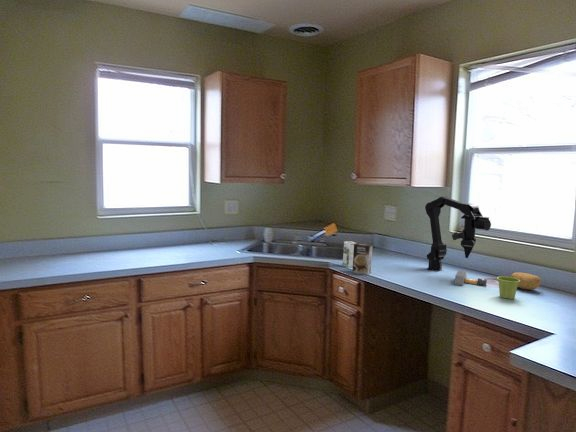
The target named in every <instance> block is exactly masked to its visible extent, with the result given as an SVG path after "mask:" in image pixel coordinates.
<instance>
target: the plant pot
mask: <svg viewBox="0 0 576 432" xmlns="http://www.w3.org/2000/svg"><path fill="white" fill-rule="evenodd" d="M496 279H497V282H498V289H499V297H501V298H503V299H510V300H512V299H513V300H514V299H515V298H516V294H517V289H518V287H517V286H518V284H519V282H520V280H519V279H516V278H512V277H511V276H497V278H496Z"/></svg>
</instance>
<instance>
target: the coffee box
mask: <svg viewBox="0 0 576 432" xmlns="http://www.w3.org/2000/svg"><path fill="white" fill-rule="evenodd" d="M355 243H356V244H354V253H353V267H352V273H353V274H357V275H365V276H368V275H370V274H372V260H373V244H369V243H361V242H355Z"/></svg>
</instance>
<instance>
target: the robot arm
mask: <svg viewBox="0 0 576 432" xmlns="http://www.w3.org/2000/svg"><path fill="white" fill-rule="evenodd" d="M445 206H447V207H450V208H453V209H456V210H458V211H460V212H461V213H462V214H463V215H462V216H461V217H460V219H463V220H464V223H463V229H462V231H459V232H457V231H456V232H453V233H452V234H451V237H452V239H453V240H452V241H456V240H459V239H462V240H460V246H461V247H462V248H463V251H464V258H466V259H468V258H469V256H470V255H471V253H472V251H473V248H474V247H475V244H476V241H477V237H476V231H477V230H481V231H482V230H483V231H489V230H490V229H491V226H492V222H491V220H490V218H489V216H483V214H482V212H481V210H480V208H479V205H477V204H475V203H468V202H467V203H466V202H465V203H464V202H462V201H458V200H455V199H453V198H450V197H448V196H440V197H438V198H436V199H434V200H432V201H430V202H427V203H426V205H425V206H424V207H425V208H424V209H425V212H426V215H427V216H428V218H429V223H430V230H431V240H432V243H431V247H430V252H428V254H426V258H427V259H426V260H428V267H426V269H427V270H430V271H435V272H440V271H441V270H443V262H442V260H444V258H445V256H446V255H447V252H448V249H447V244H444V242H443V241H442V234H441V225H440V216H441V209H442V208H443V207H445Z"/></svg>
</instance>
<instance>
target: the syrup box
mask: <svg viewBox="0 0 576 432" xmlns="http://www.w3.org/2000/svg"><path fill="white" fill-rule="evenodd" d="M356 243H357V242H354V241H352V240H346V241H343V254H342V255H343V256H342V266H344V267H346V268H353V253H354V244H356Z"/></svg>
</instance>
